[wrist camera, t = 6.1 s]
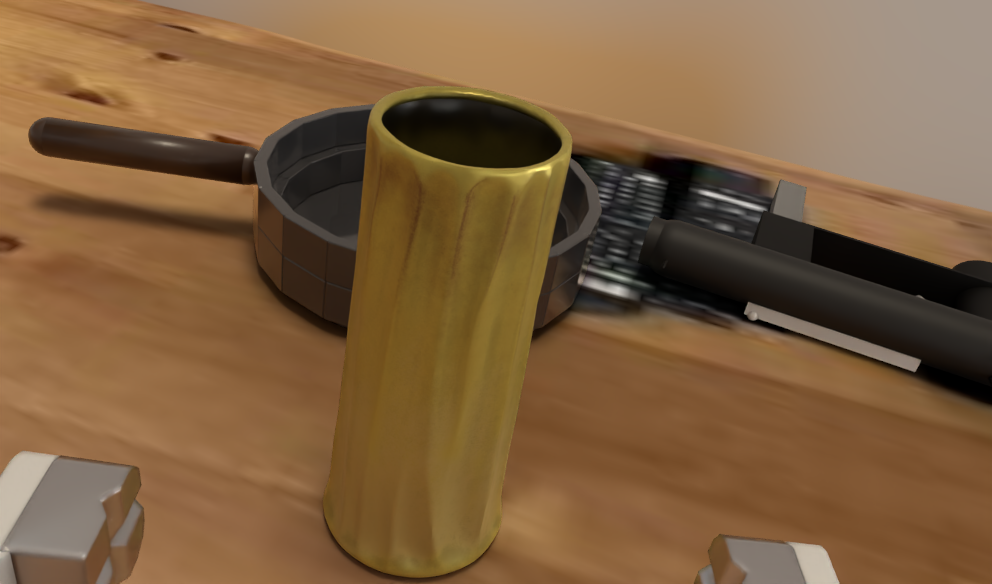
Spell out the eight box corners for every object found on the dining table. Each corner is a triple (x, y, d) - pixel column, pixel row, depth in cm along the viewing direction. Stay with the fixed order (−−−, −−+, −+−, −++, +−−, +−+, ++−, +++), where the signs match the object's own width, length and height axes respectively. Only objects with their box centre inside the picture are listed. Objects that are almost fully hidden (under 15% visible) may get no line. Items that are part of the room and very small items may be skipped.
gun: (694, 140, 55) (642, 232, 42) (1022, 238, 51) (1083, 377, 37) (679, 187, 57) (624, 290, 43) (995, 286, 52) (1044, 435, 39)
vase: (516, 470, 32) (604, 110, 24) (477, 605, 27) (572, 205, 19) (360, 426, 32) (396, 61, 25) (293, 550, 27) (311, 140, 20)
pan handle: (270, 177, 42) (270, 143, 41) (261, 194, 40) (261, 159, 39) (41, 143, 41) (36, 108, 40) (24, 160, 40) (18, 123, 39)
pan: (569, 201, 51) (586, 130, 48) (593, 377, 37) (618, 292, 35) (292, 160, 49) (294, 85, 47) (213, 328, 36) (211, 235, 33)
